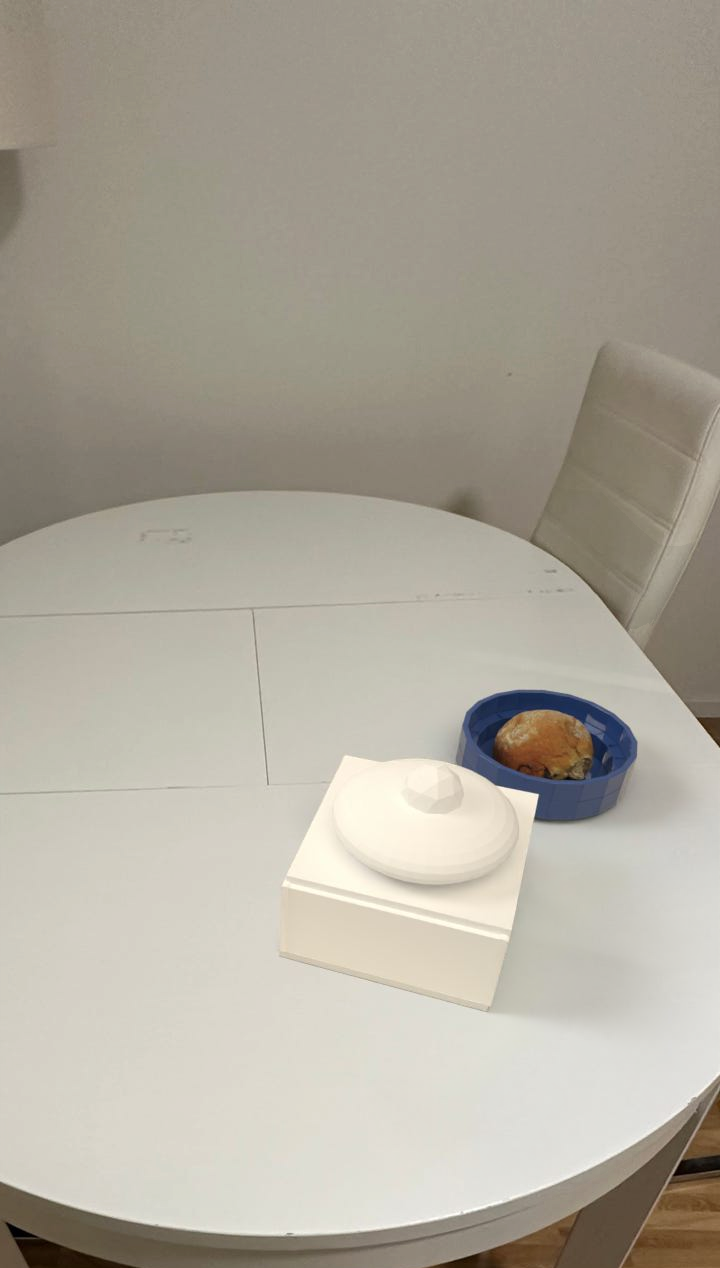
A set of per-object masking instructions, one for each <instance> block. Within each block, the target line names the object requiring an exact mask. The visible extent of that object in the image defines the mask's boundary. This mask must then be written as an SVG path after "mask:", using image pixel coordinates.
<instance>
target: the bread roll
mask: <svg viewBox="0 0 720 1268" xmlns="http://www.w3.org/2000/svg"><path fill="white" fill-rule="evenodd" d="M593 755H594V750H593V743H592V738H591V735H590V733H589V731H588V730H587V728H586V727H585V726H584V725H583V724H582V723H581V722H580V721H579V720H577V719H576V718H574V717H573V716H570V715H567V714H564V713H561V712H558V711H553V710H533V711H526V712H523V713H520V714H518V715H516V716H514V717H513V718H512V719H510V720H509V721H508V722H507V723H506V724H505V725H504V726H503V727H502V728H501V729H500V730H499V732H498V733H497V736H496V738H495V741H494V746H493V759H494V760H495V761H497V762H498V763H500V764H501V765H503V766H505V767H508V768H510V769H513V770H516V771H518V772H521V773H524V774H526V775H530V776H535V777H540V778H546V779H551V780H575V781H582V780H583V779H584V778H585V777H586V776H587V774H588V773H589V771H590V770H591V767H592V765H593V760H592V759H593Z"/></svg>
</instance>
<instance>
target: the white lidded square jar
mask: <svg viewBox="0 0 720 1268" xmlns="http://www.w3.org/2000/svg"><path fill="white" fill-rule="evenodd" d="M538 796H539V794H535V793H530V792H525V791H520V790H515V789H510V788H505V787H500V786H495V785H494V784H493V783H491V782H490V781H489V780H487V779H486V778H485V777H483V776H481V775H479V774H477V773H475V772H473V771H471V770H469V769H466V768H464V767H461V766H458V765H457V764H456V763H455V764H454V763H450V762H447V761H443V760H437V759H431V758H430V759H429V758H413V757H412V758H399V759H392V760H387V761H383V762H382V761H378V760H377V761H376V760H373V759H367V758H363V757H356V756H351V755H348V754H344V756H343V758H342V760H341V762H340V764H339V766H338V768H337V770H336V772H335V775H334V776H333V778H332V781H331V782H330V785H329V787H328V789H327V791H326V793H325V795H324V797H323V798H322V801H321V802H320V805H319V807H318V809H317V811H316V813H315V815H314V818H313V820H312V822H311V824H310V826H309V828H308V830H307V832H306V834H305V835H304V838H303V840H302V842H301V844H300V846H299V848H298V851H297V853H296V855H295V856H294V858H293V861H292V863H291V865H290V867H289V869H288V871H287V873H286V875H285V878H284V880H283V882H282V884H281V889H280V913H279V914H280V917H279V918H280V919H279V941H278V943H279V945H278V947H279V948H278V951H279V952H278V953H279V954H278V956H279V957H280V958H281V957H282V958H285V959H288V960H292V961H296V962H300V963H302V964H307V965H311V966H315V967H319V968H322V969H325V970H329V971H333V972H337V973H341V974H343V975H344V974H345V975H348V976H352V977H356V978H359V979H363V980H367V981H371V982H374V983H378V984H382V985H385V986H390V987H393V988H395V989H396V988H397V989H400V990H405V991H408V992H412V993H415V994H419V995H422V996H427V997H430V998H435V999H437V1000H441V1001H445V1002H449V1003H453V1004H456V1005H461V1006H464V1007H468V1008H472V1009H475V1010H479V1011H483V1012H487V1013H488V1010H489V1007H490V1008H491V1007H492V1004H493V1000H494V997H495V993H496V990H497V986H498V982H499V979H500V975H501V972H502V968H503V965H504V961H505V958H506V953H507V951H508V946H509V943H510V939H511V934H512V930H513V927H514V922H515V921H514V920H515V917H516V916H515V915H516V911H517V907H518V906H517V905H518V901H519V895H520V891H521V886H522V880H523V876H524V870H525V866H526V861H527V856H528V850H529V845H530V840H531V837H532V830H533V825H534V821H535V817H534V816H535V811H536V806H537V801H538Z"/></svg>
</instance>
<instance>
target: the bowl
mask: <svg viewBox="0 0 720 1268" xmlns="http://www.w3.org/2000/svg"><path fill="white" fill-rule="evenodd" d="M533 710H553V711H558V712H561V713H564V714H567V715H570V716H573V717H574V718H576V719H577V720H579V721H580V722H581V723H582V724H583V725H584V726H585V727H586V728H587V730H588V731H589V733H590V735H591V738H592V743H593V750H594V755H593V759H592V760H593V765H592V767H591V770H590V771H589V773H588V774H587V776H586V777H585V778H584V779H583V780H582V781H575V780H551V779H546V778H540V777H535V776H530V775H526V774H524V773H521V772H518V771H516V770H513V769H510V768H508V767H505V766H503V765H501V764H500V763H498V762H497V761H495V760H494V759H493V746H494V741H495V738H496V736H497V733H498V732H499V730H500V729H501V728H502V727H503V726H504V725H505V724H506V723H507V722H508V721H509V720H510V719H512V718H513V717H514V716H516V715H518V714H520V713H523V712H526V711H533ZM638 743H639V742H638V740H637V739H636V737H635V735H634V733H633V731H632V729H631V727H630V726H629V725H628V724H626V722H624V721H623V720H622V719H621V717H619V716H618V715H617V714H615V712H612V711H610V710H608V709H607V708H605V707H603V706H601V705H599V704H597V703H596V702H594V701H591V700H588V699H585V698H582V697H579V696H576V695H573V694H570V693H564V692H559V691H553V690H546V689H513V690H508V691H501V692H496V693H493V694H492V695H489V696H486V697H484V698H482V699H479V700H477V701H476V702H475V703H474V704H473V705H472V706H471V707H470V708H469V709H468V710H466V712H465V715H464V718H463V721H462V725H461V730H460V735H459V740H458V746H457V751H456V757H455V762H456V765H458V766H461V767H464V768H466V769H469V770H471V771H473V772H475V773H477V774H479V775H481V776H483V777H485V778H486V779H487V780H489V781H490V782H491V783H493V784H494V785H495V786H500V787H505V788H510V789H515V790H520V791H525V792H530V793H535V794H539V796H538V801H537V806H536V811H535V816H534V818H535V819H542V820H557V821H558V820H559V821H561V820H565V821H566V820H567V821H568V820H569V821H573V820H578V819H582V818H588V817H593V816H598V815H600V814H602V813H603V812H605V811H606V810H607V811H608V809H611V808H612V807H614V806H616V805H617V804H618V802H619V801H620V799H621V798H622V797H623V795H624V794H625V792H626V790H627V787H628V784H629V782H630V778H631V776H632V773H633V770H634V766H635V764H636V761H637V758H638Z"/></svg>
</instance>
